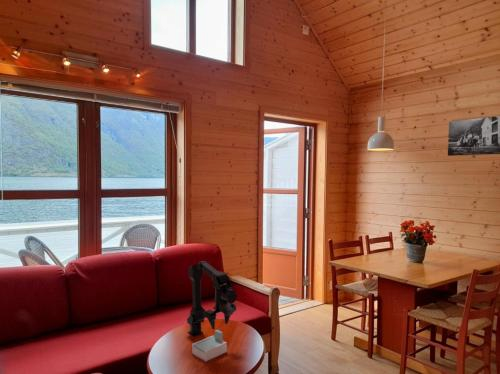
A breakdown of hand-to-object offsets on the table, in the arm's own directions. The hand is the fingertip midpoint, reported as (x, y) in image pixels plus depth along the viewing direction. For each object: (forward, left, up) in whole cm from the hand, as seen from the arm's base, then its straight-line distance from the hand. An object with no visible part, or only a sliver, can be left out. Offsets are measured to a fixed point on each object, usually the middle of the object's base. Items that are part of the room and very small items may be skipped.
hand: (219, 326), depth 186 cm
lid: (0, -7, -8) cm, 10 cm away
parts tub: (0, -7, -12) cm, 14 cm away
